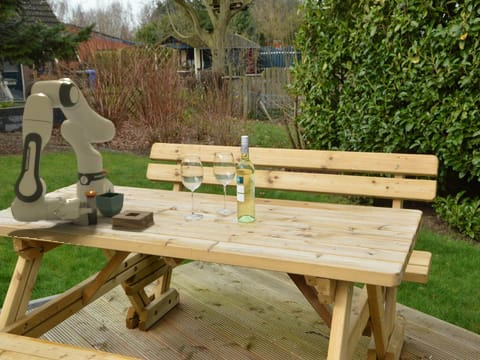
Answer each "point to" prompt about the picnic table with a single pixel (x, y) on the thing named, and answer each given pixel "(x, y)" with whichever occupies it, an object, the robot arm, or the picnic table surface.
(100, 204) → the flower pot
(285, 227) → the picnic table surface
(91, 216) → the pin
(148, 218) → the block
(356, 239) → the picnic table surface
